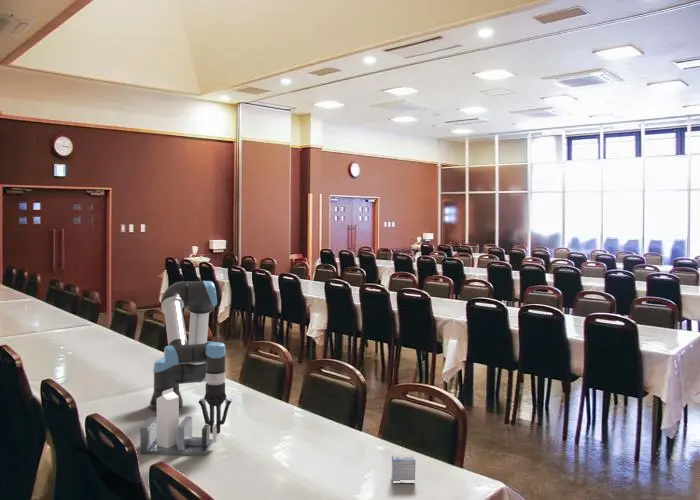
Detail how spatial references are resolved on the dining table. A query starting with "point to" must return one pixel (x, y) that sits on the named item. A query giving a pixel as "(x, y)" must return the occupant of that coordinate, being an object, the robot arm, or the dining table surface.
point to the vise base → (150, 447)
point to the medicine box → (403, 467)
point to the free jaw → (186, 435)
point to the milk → (167, 418)
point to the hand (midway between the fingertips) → (215, 441)
